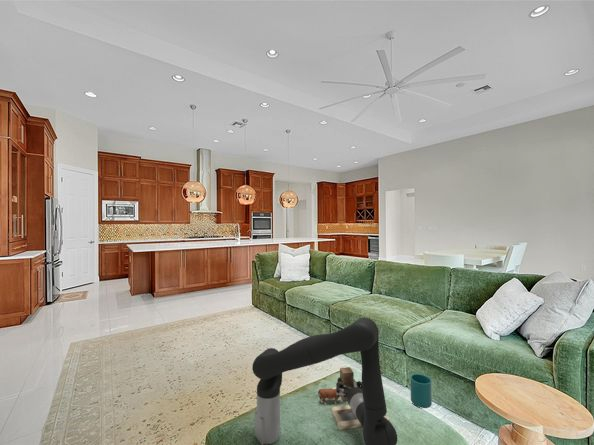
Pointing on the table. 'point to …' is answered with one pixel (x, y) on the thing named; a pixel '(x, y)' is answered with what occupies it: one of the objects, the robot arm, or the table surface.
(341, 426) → the puzzle board
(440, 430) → the table surface
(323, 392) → the bull figurine
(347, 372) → the walnut block
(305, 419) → the table surface
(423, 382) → the cup
